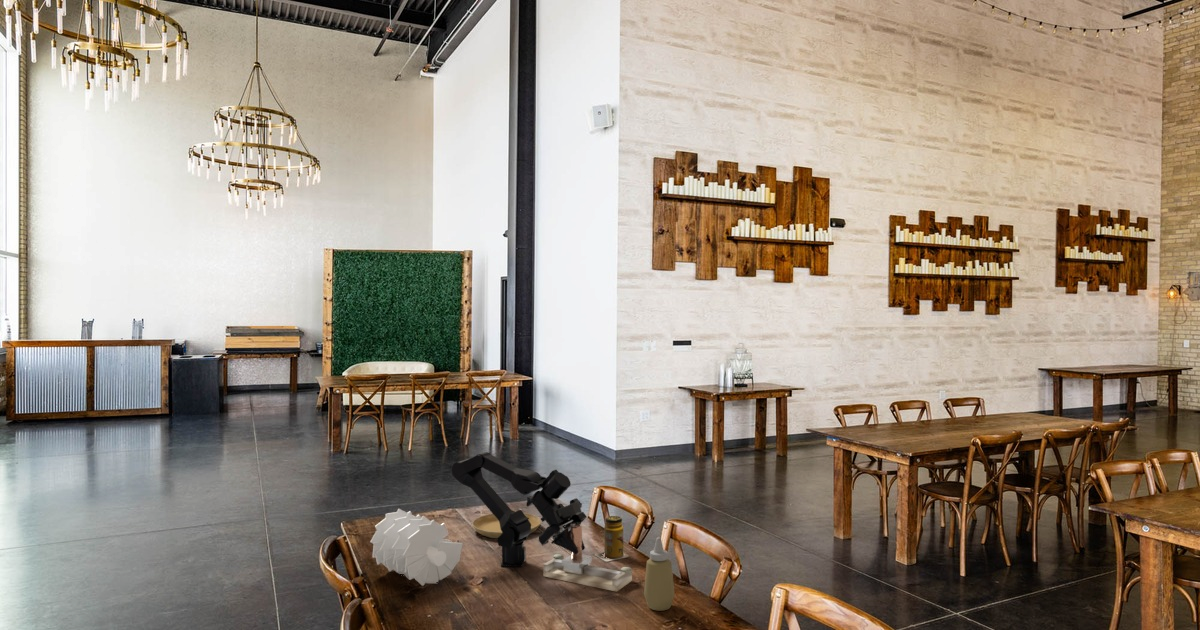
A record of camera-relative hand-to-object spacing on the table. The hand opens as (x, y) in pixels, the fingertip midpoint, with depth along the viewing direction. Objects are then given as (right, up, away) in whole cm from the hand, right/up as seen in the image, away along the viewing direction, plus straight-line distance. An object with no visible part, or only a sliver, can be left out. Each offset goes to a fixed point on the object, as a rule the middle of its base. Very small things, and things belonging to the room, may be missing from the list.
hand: (580, 551), depth 209 cm
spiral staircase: (-49, -8, +3) cm, 49 cm away
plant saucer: (-27, -8, +46) cm, 54 cm away
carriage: (-1, -6, +1) cm, 6 cm away
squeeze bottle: (+21, -8, -21) cm, 31 cm away
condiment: (+9, -7, +18) cm, 21 cm away
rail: (+2, -8, -1) cm, 8 cm away
